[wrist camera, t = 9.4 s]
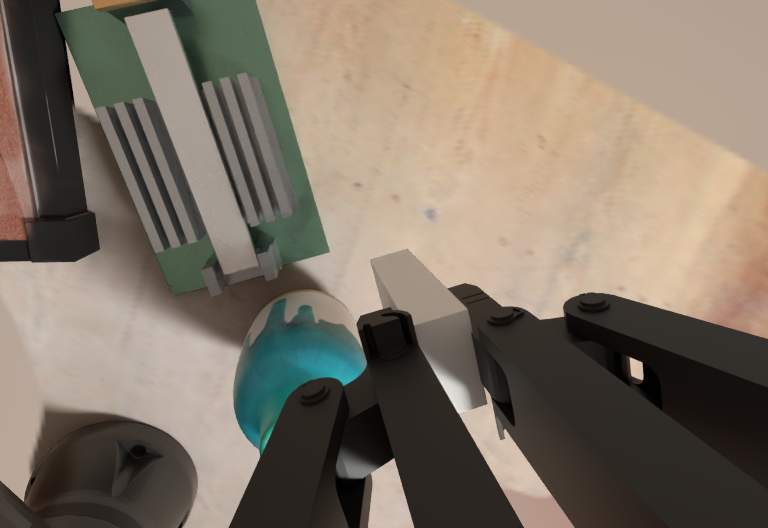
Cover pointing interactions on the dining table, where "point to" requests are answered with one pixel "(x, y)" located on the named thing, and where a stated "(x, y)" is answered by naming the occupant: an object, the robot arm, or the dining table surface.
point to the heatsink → (230, 126)
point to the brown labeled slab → (39, 141)
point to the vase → (292, 356)
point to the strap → (193, 137)
